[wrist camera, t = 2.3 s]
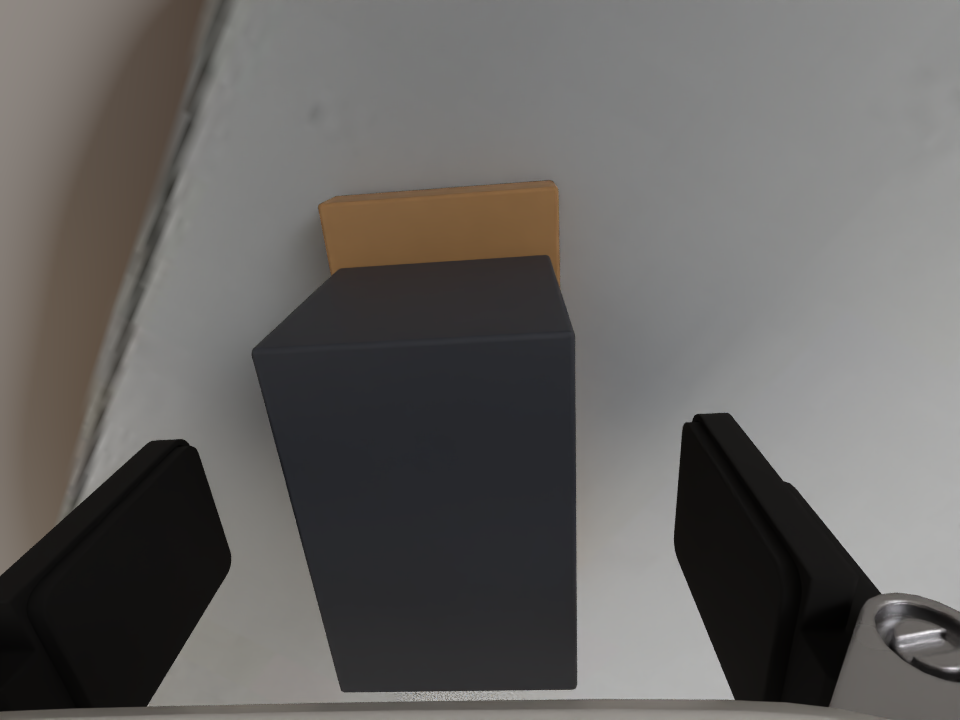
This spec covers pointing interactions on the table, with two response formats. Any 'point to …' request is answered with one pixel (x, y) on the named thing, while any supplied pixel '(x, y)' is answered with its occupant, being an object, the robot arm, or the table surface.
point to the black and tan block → (435, 440)
